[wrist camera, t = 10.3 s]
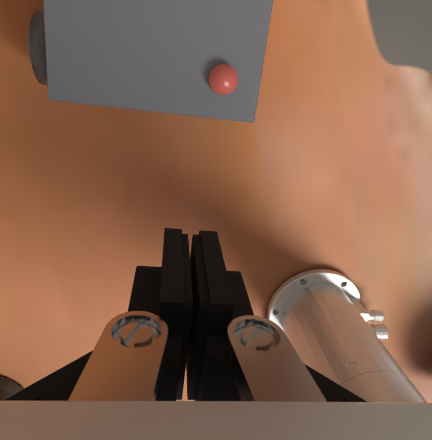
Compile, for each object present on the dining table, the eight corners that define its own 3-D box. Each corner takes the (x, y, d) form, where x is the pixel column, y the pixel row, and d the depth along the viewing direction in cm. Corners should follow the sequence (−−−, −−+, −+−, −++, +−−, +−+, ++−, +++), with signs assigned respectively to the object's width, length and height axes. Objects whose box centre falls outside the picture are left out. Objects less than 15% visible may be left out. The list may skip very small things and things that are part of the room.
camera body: (250, 10, 35) (276, -8, 26) (236, 109, 38) (255, 123, 29) (50, -21, 32) (4, -52, 23) (55, 89, 36) (17, 97, 27)
